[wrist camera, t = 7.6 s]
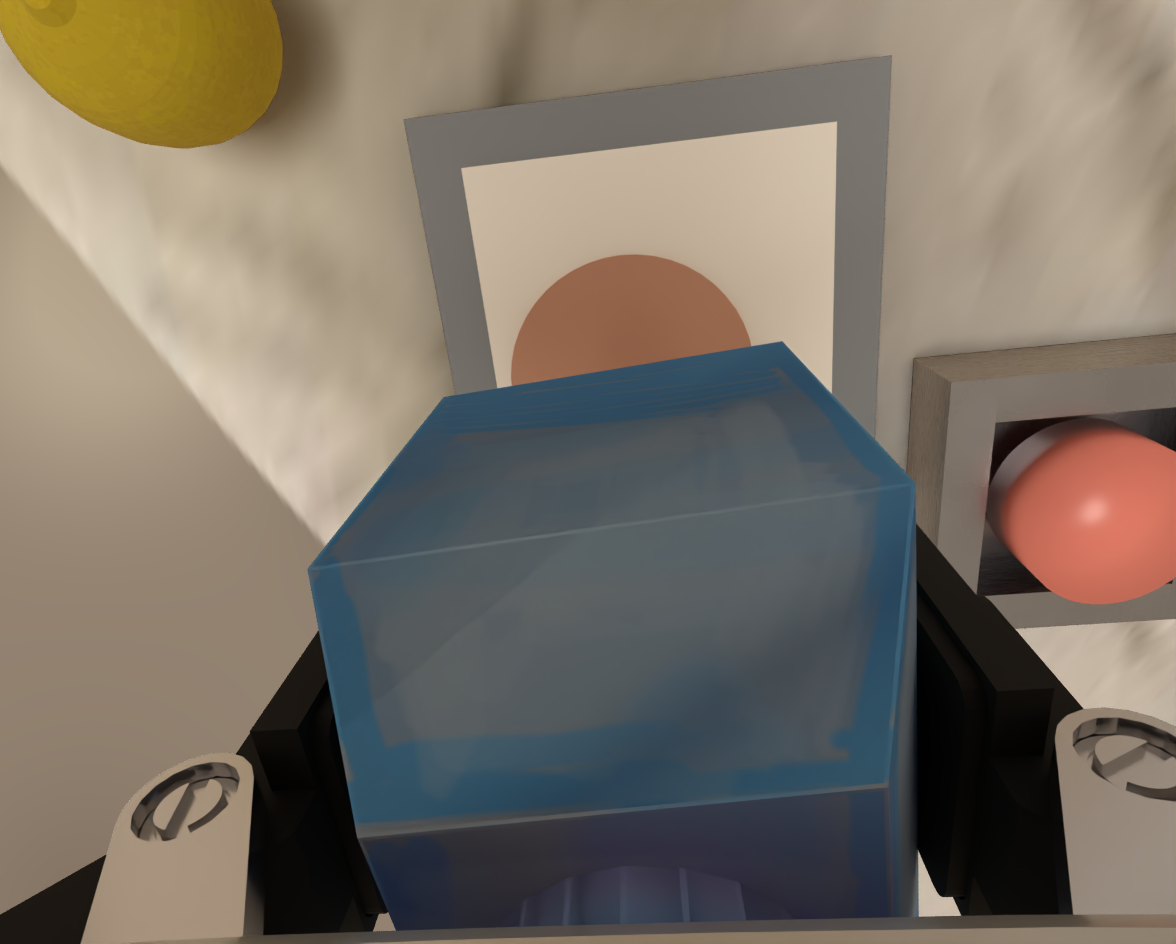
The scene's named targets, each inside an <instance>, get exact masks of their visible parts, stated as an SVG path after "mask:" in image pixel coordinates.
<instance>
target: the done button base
mask: <svg viewBox="0 0 1176 944" xmlns="http://www.w3.org/2000/svg"><path fill="white" fill-rule="evenodd" d="M1085 418H1094V419H1104V420H1108V421H1113V422H1115V423H1118V424H1121V425H1123V426H1125V427H1127V428H1129V429H1131V430H1133V431H1135V432H1137V433H1139V434H1141V435H1143V436H1145V437H1147V438H1149V439H1151V440H1153V441H1155V442H1157V443H1159V444H1161V445H1163V446H1165V447H1167V448H1169V449H1171V450H1173V451H1175V452H1176V334H1168V335H1157V336H1146V337H1136V338H1125V339H1115V340H1104V341H1094V342H1083V343H1072V344H1062V345H1051V346H1041V347H1030V348H1020V349H1009V350H998V351H988V352H977V353H967V354H956V355H945V356H935V357H924V358H914V367H913V382H912V398H911V414H910V430H909V445H908V461H907V475H908V476H909V477H910V478H911V479H912V480H913V481H914V482H915V483H916V524H917V525H918V526H919V527H920V528H921V529H922V531H923V532H924V533H925V534H926V535H927V537H928V538H929V539H930V540H931V541H932V543H933V544H934V545H935V546H936V547H937V549H938V550H939V551H940V552H941V553H942V555H943V556H944V557H945V558H946V559H947V560H948V562H949V563H950V564H951V565H952V566H953V568H954V569H955V570H956V571H957V572H958V574H959V575H960V576H961V577H962V578H963V580H964V581H965V582H966V583H967V584H968V586H969V587H970V588H971V589H972V590H973V592H974V593H975V594H976V595H982V596H985V597H986V598H988V599H989V600H990V601H991V602H992V603H993V604H994V605H995V607H996V608H997V609H998V610H999V611H1000V612H1001V613H1002V615H1003V616H1004V617H1005V618H1006V619H1007V620H1008V622H1009V623H1010V624H1011V625H1012V626H1013V627H1014V629H1018V628H1034V627H1051V626H1067V625H1083V624H1099V623H1116V622H1132V621H1148V620H1164V619H1176V577H1175V578H1174V579H1172V580H1171V581H1169V582H1168V583H1166V584H1165V585H1163V586H1162V587H1160V588H1158V589H1156V590H1154V591H1152V592H1150V593H1148V594H1145V595H1143V596H1141V597H1138V598H1135V599H1131V600H1128V601H1123V602H1119V603H1112V604H1085V603H1079V602H1075V601H1071V600H1068V599H1065V598H1063V597H1061V596H1059V595H1057V594H1055V593H1053V592H1052V591H1051V590H1049V589H1048V588H1046V587H1045V586H1044V585H1043V584H1042V583H1041V582H1040V581H1039V580H1038V579H1037V578H1036V577H1035V576H1034V575H1033V574H1032V573H1031V572H1030V571H1029V570H1028V569H1027V568H1026V567H1025V566H1024V565H1023V564H1022V563H1021V562H1020V561H1019V560H1018V559H1017V558H1016V557H1015V556H1014V555H1013V554H1012V553H1011V552H1010V551H1009V550H1008V549H1007V548H1006V547H1005V546H1004V545H1003V544H1002V543H1001V542H1000V541H999V540H998V539H997V537H996V536H995V534H994V533H993V531H992V529H991V527H990V524H989V520H988V516H987V497H988V492H989V488H990V485H991V482H992V480H993V478H994V476H995V474H996V472H997V470H998V468H999V467H1000V465H1001V464H1002V462H1003V461H1004V460H1005V459H1006V457H1007V456H1008V455H1009V454H1010V453H1011V452H1012V451H1013V450H1014V449H1015V448H1016V447H1017V446H1018V445H1020V444H1021V443H1022V442H1023V441H1025V440H1026V439H1027V438H1029V437H1030V436H1032V435H1034V434H1035V433H1037V432H1039V431H1041V430H1043V429H1045V428H1047V427H1049V426H1052V425H1055V424H1057V423H1061V422H1065V421H1069V420H1075V419H1085Z"/></svg>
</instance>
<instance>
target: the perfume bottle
mask: <svg viewBox="0 0 1176 944" xmlns="http://www.w3.org/2000/svg"><path fill="white" fill-rule="evenodd" d="M308 574H309V580H310V585H311V591H312V595H313V601H314V607H315V612H316V618H317V623H318V629H319V634H320V639H321V645H322V650H323V656H324V661H325V666H326V672H327V677H328V683H329V688H330V693H331V699H332V704H333V710H334V715H335V720H336V726H337V731H338V737H339V742H340V747H341V753H342V758H343V764H344V769H345V774H346V780H347V785H348V790H349V796H350V801H351V807H352V812H353V817H354V823H355V828H356V834H357V838H358V841H359V843H360V846H361V848H362V850H363V853H364V855H365V858H366V860H367V862H368V865H369V867H370V869H371V872H372V874H373V877H374V879H375V881H376V884H377V886H378V889H379V891H380V893H381V896H382V898H383V901H384V903H385V905H386V908H387V910H388V912H389V915H390V917H391V920H392V922H393V924H394V927H395V929H396V931H405V930H435V929H465V928H496V927H531V926H567V925H602V924H638V923H676V922H714V921H752V920H795V919H842V918H888V917H919V911H918V759H917V608H916V483H915V482H914V481H913V480H912V479H911V478H910V477H909V476H908V475H907V474H906V472H905V471H904V470H903V469H902V468H901V467H900V466H899V465H898V464H897V463H896V462H895V461H894V460H893V459H892V458H891V456H890V455H889V454H888V453H887V452H886V451H885V450H884V449H883V448H882V447H881V446H880V445H879V444H878V443H877V442H876V440H875V439H874V438H873V437H872V436H871V435H870V434H869V433H868V432H867V431H866V430H865V429H864V428H863V427H862V426H861V424H860V423H859V422H858V421H857V420H856V419H855V418H854V417H853V416H852V415H851V414H850V413H849V412H848V411H847V410H846V408H845V407H844V406H843V405H842V404H841V403H840V402H839V401H838V400H837V399H836V398H835V397H834V396H833V395H832V394H831V392H830V391H829V390H828V389H827V388H826V387H825V386H824V385H823V384H822V383H821V382H820V381H819V380H818V379H817V378H816V376H815V375H814V374H813V373H812V372H811V371H810V370H809V369H808V368H807V367H806V366H805V365H804V364H803V363H802V362H801V360H800V359H799V358H798V357H797V356H796V355H795V354H794V353H793V352H792V351H791V350H790V349H789V348H788V347H787V346H786V344H785V343H784V342H783V341H780V342H774V343H768V344H762V345H756V346H750V347H744V348H738V349H732V350H726V351H720V352H714V353H708V354H702V355H696V356H690V357H684V358H678V359H671V360H665V361H659V362H653V363H647V364H641V365H635V366H629V367H623V368H617V369H611V370H605V371H599V372H593V373H587V374H581V375H575V376H569V377H563V378H557V379H551V380H545V381H539V382H532V383H526V384H520V385H514V386H508V387H502V388H496V389H490V390H484V391H478V392H472V393H466V394H460V395H454V396H448V397H443V399H442V400H441V401H440V402H439V404H438V405H437V406H436V408H435V409H434V410H433V411H432V413H431V414H430V415H429V416H428V418H427V419H426V420H425V421H424V423H423V424H422V425H421V426H420V428H419V429H418V430H417V431H416V433H415V434H414V435H413V437H412V438H411V439H410V440H409V442H408V443H407V444H406V445H405V447H404V448H403V449H402V450H401V452H400V453H399V454H398V455H397V457H396V458H395V459H394V461H393V462H392V463H391V464H390V466H389V467H388V468H387V469H386V471H385V472H384V473H383V474H382V476H381V477H380V478H379V479H378V481H377V482H376V483H375V484H374V486H373V487H372V488H371V490H370V491H369V492H368V493H367V495H366V496H365V497H364V498H363V500H362V501H361V502H360V503H359V505H358V506H357V507H356V508H355V510H354V511H353V512H352V513H351V515H350V516H349V517H348V519H347V520H346V521H345V522H344V524H343V525H342V526H341V527H340V529H339V530H338V531H337V532H336V534H335V535H334V536H333V537H332V539H331V540H330V541H329V542H328V544H327V545H326V546H325V548H324V549H323V550H322V551H321V553H320V554H319V555H318V557H317V558H316V559H315V560H314V562H313V563H312V564H311V565H310V566H309V568H308Z"/></svg>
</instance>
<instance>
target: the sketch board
mask: <svg viewBox="0 0 1176 944" xmlns="http://www.w3.org/2000/svg"><path fill="white" fill-rule="evenodd" d="M891 63H892V55H891V56H884V57H876V58H868V59H861V60H853V61H845V62H838V63H830V64H822V65H815V66H807V67H800V68H792V69H784V70H777V71H769V72H761V73H754V74H746V75H739V76H731V77H723V78H716V79H708V80H700V81H693V82H685V83H678V84H670V85H662V86H655V87H647V88H639V89H632V90H624V91H617V92H609V93H601V94H594V95H586V96H578V97H571V98H563V99H555V100H548V101H540V102H533V103H525V104H517V105H510V106H502V107H494V108H487V109H479V110H472V111H464V112H456V113H449V114H441V115H433V116H426V117H418V118H411V119H404V124H405V129H406V135H407V140H408V145H409V151H410V156H411V161H412V167H413V172H414V177H415V182H416V188H417V193H418V198H419V204H420V209H421V214H422V220H423V225H424V230H425V235H426V241H427V246H428V251H429V257H430V262H431V267H432V273H433V278H434V283H435V288H436V294H437V299H438V304H439V310H440V315H441V320H442V325H443V331H444V336H445V341H446V347H447V352H448V357H449V363H450V368H451V373H452V378H453V384H454V389H455V394H456V395H460V394H466V393H472V392H478V391H484V390H490V389H496V388H502V387H508V386H514V385H520V384H526V383H532V382H539V381H545V380H551V379H557V378H563V377H569V376H575V375H581V374H587V373H593V372H599V371H605V370H611V369H617V368H623V367H629V366H635V365H641V364H647V363H653V362H659V361H665V360H671V359H678V358H684V357H690V356H696V355H702V354H708V353H714V352H720V351H726V350H732V349H738V348H744V347H750V346H756V345H762V344H768V343H774V342H780V341H783V342H784V343H785V344H786V346H787V347H788V348H789V349H790V350H791V351H792V352H793V353H794V354H795V355H796V356H797V357H798V358H799V359H800V360H801V362H802V363H803V364H804V365H805V366H806V367H807V368H808V369H809V370H810V371H811V372H812V373H813V374H814V375H815V376H816V378H817V379H818V380H819V381H820V382H821V383H822V384H823V385H824V386H825V387H826V388H827V389H828V390H829V391H830V392H831V394H832V395H833V396H834V397H835V398H836V399H837V400H838V401H839V402H840V403H841V404H842V405H843V406H844V407H845V408H846V410H847V411H848V412H849V413H850V414H851V415H852V416H853V417H854V418H855V419H856V420H857V421H858V422H859V423H860V424H861V426H862V427H863V428H864V429H865V430H866V431H867V432H868V433H869V434H870V435H871V436H872V437H873V438H874V439H875V425H876V402H877V380H878V357H879V334H880V312H881V289H882V266H883V244H884V221H885V198H886V176H887V153H888V131H889V108H890V85H891Z"/></svg>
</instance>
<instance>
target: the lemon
mask: <svg viewBox="0 0 1176 944" xmlns="http://www.w3.org/2000/svg"><path fill="white" fill-rule="evenodd" d="M0 30H1V32H2V34H3V37H4V39H5V41H6V43H7V44H8V46H9V47H10V48H11V50H12V51H13V53H14V54H15V56H16V57H17V59H18V60H19V62H20V63H21V65H22V66H23V67H24V69H25V70H26V71H27V73H28V74H29V75H30V76H31V77H32V78H33V79H34V80H35V81H36V82H37V83H38V84H39V85H40V86H41V87H42V88H43V89H44V90H45V91H46V92H47V93H48V94H49V95H51V96H52V97H53V98H54V99H56V100H57V101H58V102H60V103H61V104H63V105H64V106H65V107H67V108H68V109H70V110H71V111H73V112H74V113H76V114H77V115H79V116H80V117H82V118H83V119H85V120H87V121H88V122H90V123H92V124H94V125H96V126H98V127H101V128H103V129H106V130H108V131H111V132H113V133H116V134H118V135H121V136H123V137H126V138H128V139H131V140H134V141H137V142H140V143H144V144H150V145H158V146H165V147H173V148H193V147H200V146H206V145H213V144H219V143H222V142H225V141H227V140H229V139H231V138H233V137H235V136H237V135H239V134H241V133H243V132H245V131H246V130H248V129H249V128H250V127H251V126H252V125H253V124H254V123H255V122H256V121H257V120H258V119H259V118H260V117H261V116H262V115H263V114H264V113H265V112H266V110H267V108H268V106H269V105H270V103H271V101H272V99H273V97H274V96H275V94H276V92H277V89H278V85H279V81H280V77H281V73H282V59H283V43H282V38H281V33H280V29H279V24H278V19H277V15H276V12H275V10H274V8H273V5H272V3H271V1H270V0H0Z"/></svg>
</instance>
